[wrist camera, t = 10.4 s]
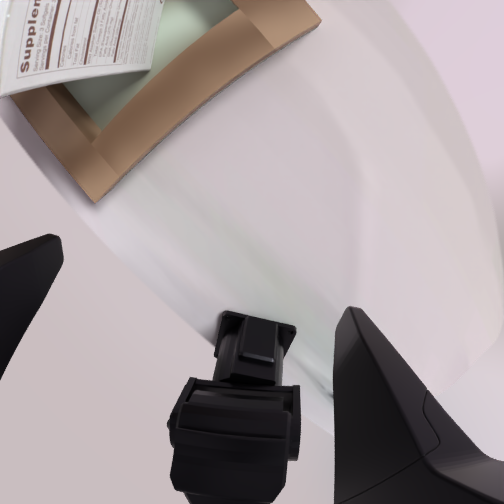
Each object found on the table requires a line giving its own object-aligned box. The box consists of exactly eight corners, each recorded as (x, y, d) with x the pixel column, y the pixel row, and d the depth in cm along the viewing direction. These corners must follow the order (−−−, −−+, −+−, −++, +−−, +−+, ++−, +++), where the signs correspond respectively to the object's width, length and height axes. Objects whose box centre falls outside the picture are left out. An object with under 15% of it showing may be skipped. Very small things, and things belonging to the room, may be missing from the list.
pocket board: (317, 27, 14) (321, 20, 12) (111, 189, 21) (94, 203, 19) (151, -116, 7) (138, -129, 5) (0, 46, 15) (-21, 49, 12)
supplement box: (63, 71, 16) (-88, 115, 5) (81, -22, 12) (-64, -38, 1) (153, 74, 16) (-6, 106, 6) (177, -31, 12) (47, -109, 2)
